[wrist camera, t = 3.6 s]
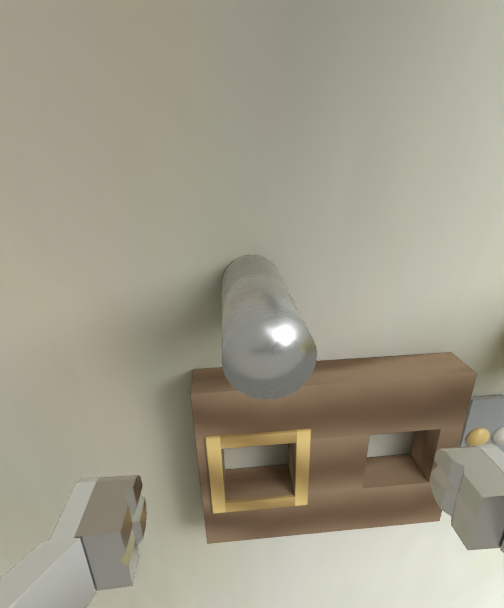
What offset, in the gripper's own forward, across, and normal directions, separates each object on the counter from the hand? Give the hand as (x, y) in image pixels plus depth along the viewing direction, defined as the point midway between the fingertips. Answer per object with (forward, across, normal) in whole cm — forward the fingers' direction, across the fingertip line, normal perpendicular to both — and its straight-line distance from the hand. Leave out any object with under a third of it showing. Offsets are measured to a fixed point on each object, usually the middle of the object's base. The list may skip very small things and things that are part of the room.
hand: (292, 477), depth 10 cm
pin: (+16, 0, -1) cm, 16 cm away
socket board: (+16, -6, +13) cm, 21 cm away
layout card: (+16, -21, +14) cm, 30 cm away
